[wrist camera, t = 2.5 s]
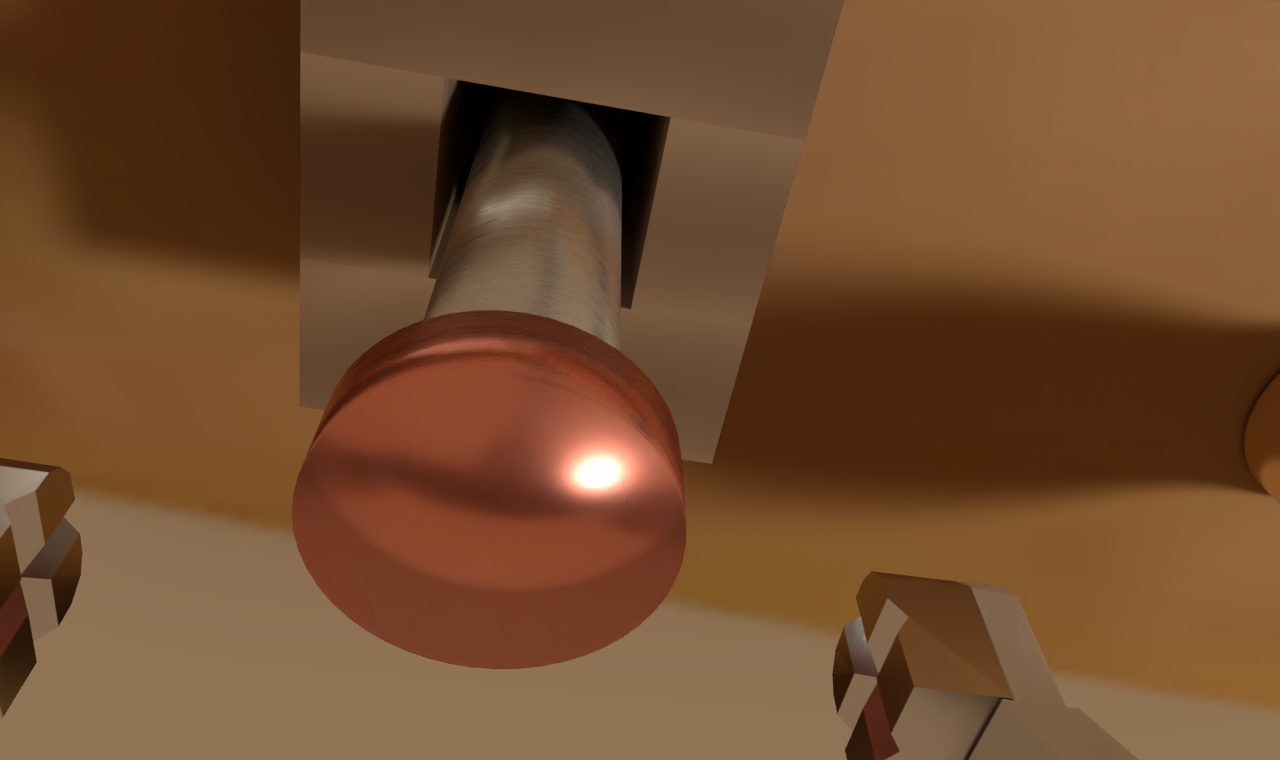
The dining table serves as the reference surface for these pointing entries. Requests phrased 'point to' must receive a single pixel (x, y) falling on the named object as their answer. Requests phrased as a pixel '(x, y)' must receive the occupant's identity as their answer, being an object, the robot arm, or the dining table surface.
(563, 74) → the block
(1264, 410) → the beer glass
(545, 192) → the pin
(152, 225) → the dining table surface
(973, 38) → the dining table surface
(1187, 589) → the dining table surface
